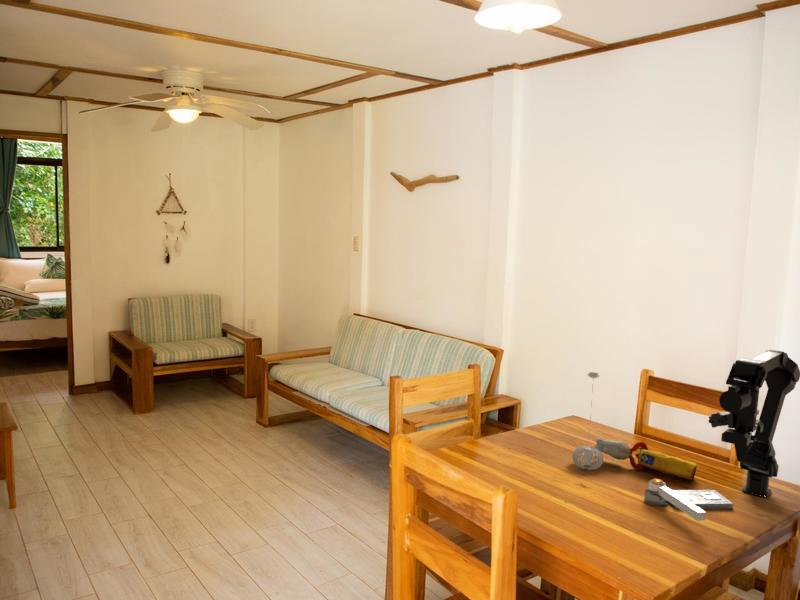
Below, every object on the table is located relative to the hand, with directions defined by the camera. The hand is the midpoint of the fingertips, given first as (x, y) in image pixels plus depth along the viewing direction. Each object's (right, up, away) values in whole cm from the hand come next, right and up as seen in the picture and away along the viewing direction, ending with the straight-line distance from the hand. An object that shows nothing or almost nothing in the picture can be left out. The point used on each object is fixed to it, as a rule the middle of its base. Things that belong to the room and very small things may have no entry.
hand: (740, 461), depth 178 cm
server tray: (-11, -12, +3) cm, 16 cm away
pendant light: (-34, -8, +26) cm, 44 cm away
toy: (-17, -9, +26) cm, 32 cm away
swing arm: (-20, -10, -6) cm, 23 cm away
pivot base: (-22, -12, +2) cm, 25 cm away
